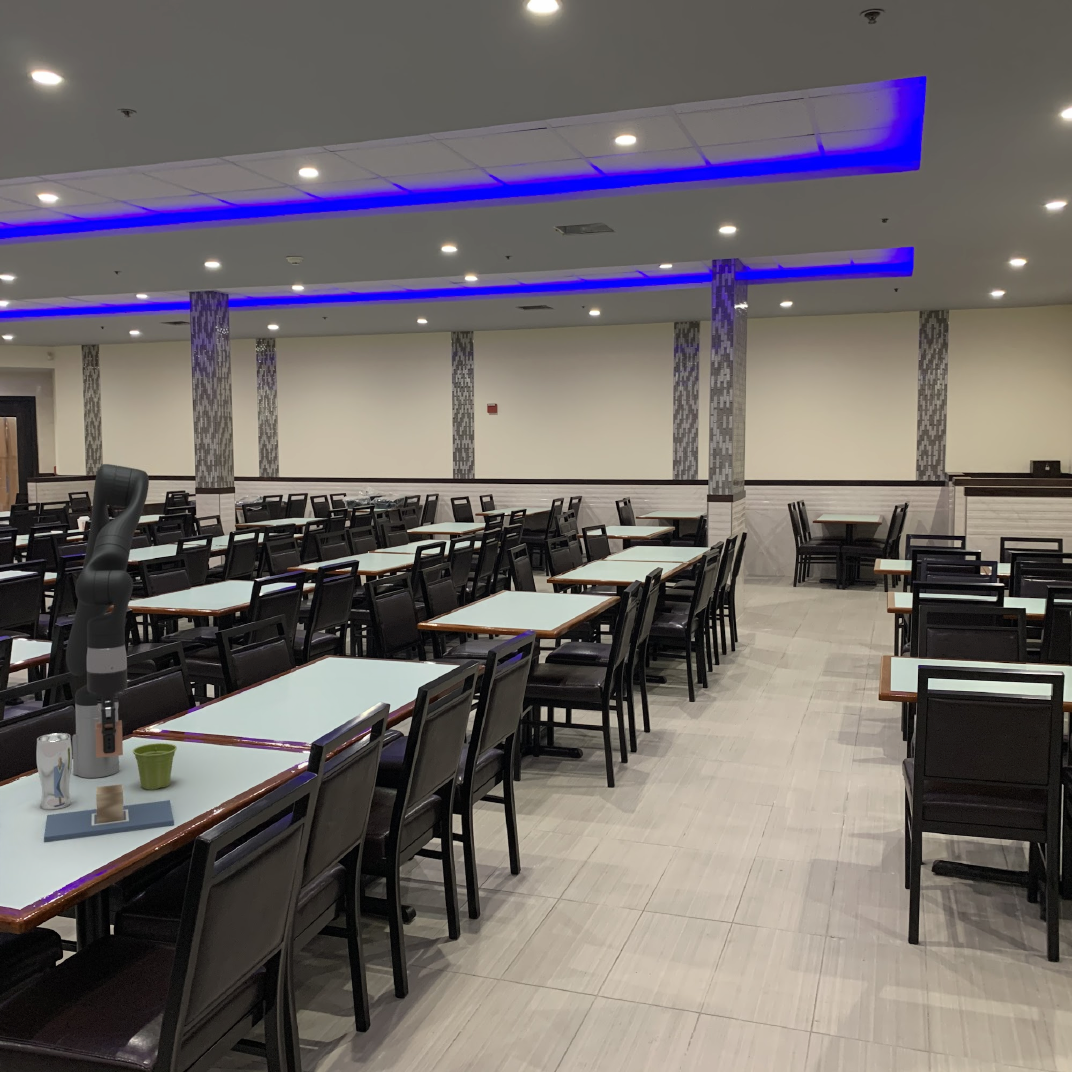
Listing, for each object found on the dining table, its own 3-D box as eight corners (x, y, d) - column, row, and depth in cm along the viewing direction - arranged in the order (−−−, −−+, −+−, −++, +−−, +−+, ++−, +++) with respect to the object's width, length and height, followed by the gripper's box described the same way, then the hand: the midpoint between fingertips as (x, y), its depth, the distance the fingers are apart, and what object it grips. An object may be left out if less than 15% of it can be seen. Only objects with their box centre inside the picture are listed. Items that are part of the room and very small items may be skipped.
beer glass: (50, 813, 211) (48, 743, 209) (31, 806, 214) (29, 738, 213) (80, 803, 216) (78, 736, 215) (61, 797, 220) (59, 731, 219)
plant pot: (142, 778, 233) (142, 742, 232) (183, 779, 233) (182, 743, 233) (126, 792, 224) (126, 754, 223) (168, 792, 224) (168, 755, 223)
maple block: (96, 823, 202) (96, 794, 202) (97, 815, 207) (96, 787, 206) (123, 820, 204) (122, 791, 204) (123, 812, 209) (122, 784, 208)
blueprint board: (44, 842, 195) (43, 836, 195) (47, 819, 207) (47, 814, 207) (173, 825, 204) (173, 819, 204) (169, 804, 216) (169, 799, 216)
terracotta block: (96, 757, 201) (95, 728, 201) (96, 751, 206) (95, 722, 205) (122, 754, 203) (122, 726, 203) (122, 748, 208) (121, 720, 207)
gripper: (127, 673, 198) (130, 756, 199) (125, 659, 211) (127, 738, 212) (86, 676, 195) (89, 761, 196) (87, 662, 208) (89, 741, 209)
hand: (109, 748), depth 204 cm, fingers closed on terracotta block, 5 cm apart
